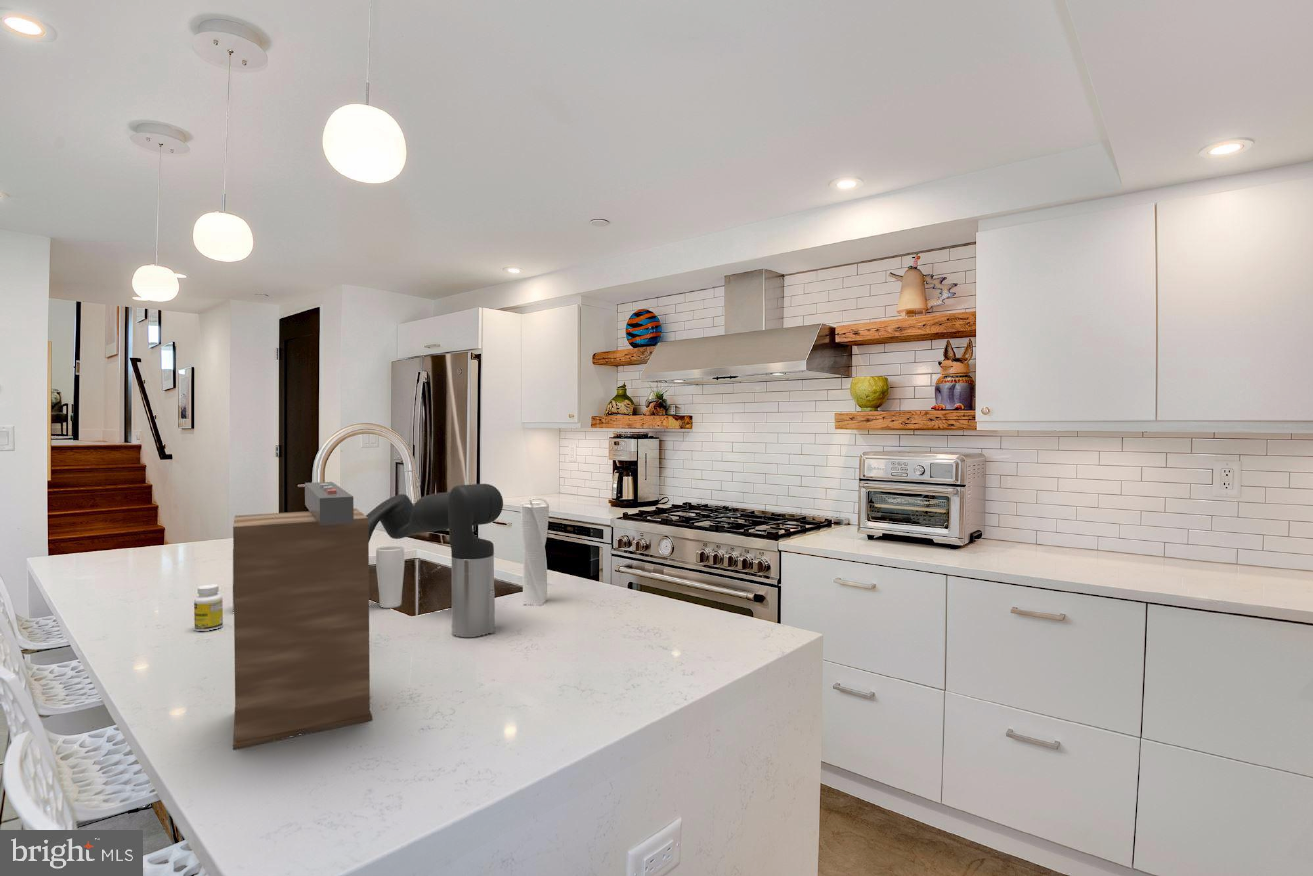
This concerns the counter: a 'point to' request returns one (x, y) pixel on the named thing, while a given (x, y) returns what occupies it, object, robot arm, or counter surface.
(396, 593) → the drinking glass
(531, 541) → the twisted white column
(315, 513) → the power strip
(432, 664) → the counter surface
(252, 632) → the brown tall block
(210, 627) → the supplement bottle
